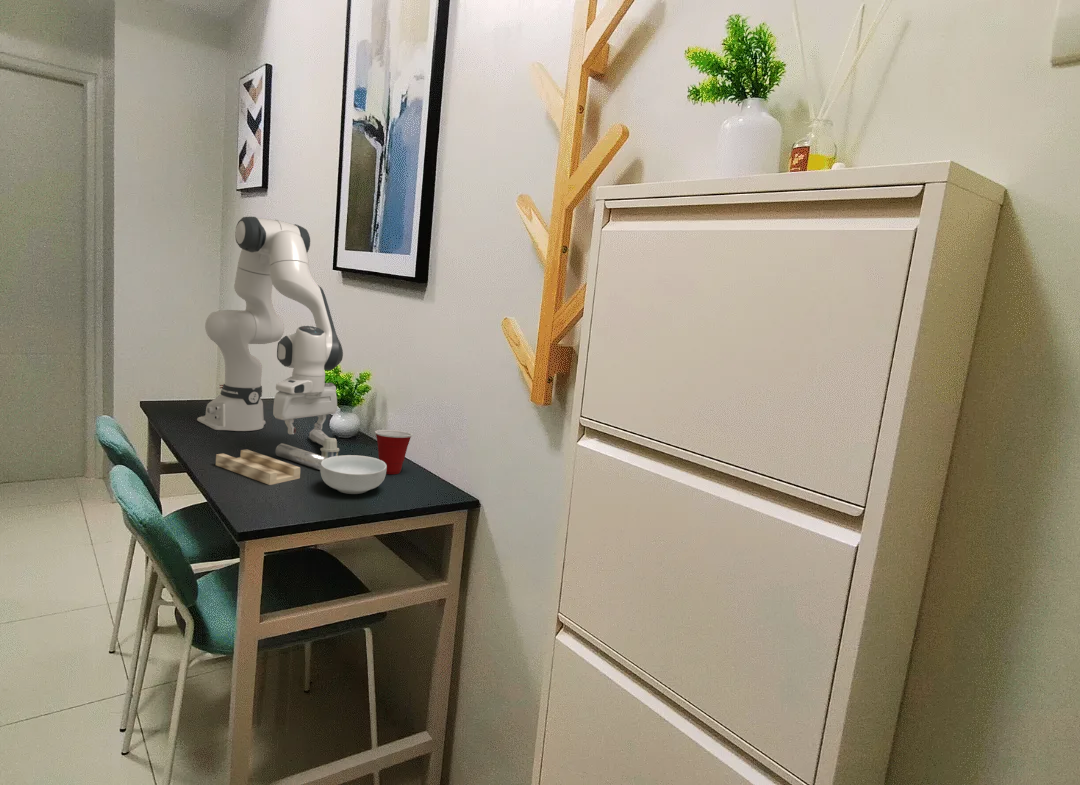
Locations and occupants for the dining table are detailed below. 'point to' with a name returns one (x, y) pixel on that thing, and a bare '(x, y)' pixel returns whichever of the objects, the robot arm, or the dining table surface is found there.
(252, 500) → the dining table surface
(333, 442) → the toothbrush head
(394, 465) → the plastic cup
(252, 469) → the v block
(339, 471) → the cereal bowl
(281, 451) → the axle
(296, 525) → the dining table surface
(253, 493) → the dining table surface
